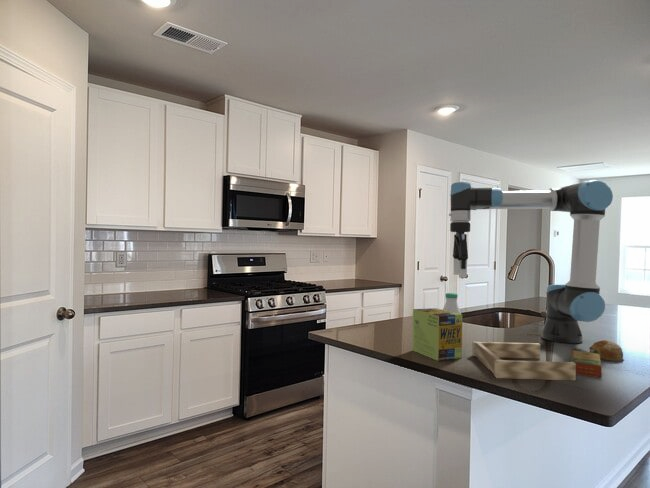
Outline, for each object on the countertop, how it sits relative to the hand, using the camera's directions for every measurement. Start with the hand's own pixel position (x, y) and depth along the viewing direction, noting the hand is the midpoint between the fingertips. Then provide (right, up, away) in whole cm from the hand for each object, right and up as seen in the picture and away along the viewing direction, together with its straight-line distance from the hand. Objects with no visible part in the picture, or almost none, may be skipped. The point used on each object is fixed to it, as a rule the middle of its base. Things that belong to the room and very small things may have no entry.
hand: (459, 276), depth 168 cm
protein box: (-13, -27, -14) cm, 33 cm away
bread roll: (+47, -28, -16) cm, 57 cm away
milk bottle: (-3, -27, +2) cm, 28 cm away
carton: (+31, -28, -30) cm, 52 cm away
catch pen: (+10, -27, -29) cm, 41 cm away
